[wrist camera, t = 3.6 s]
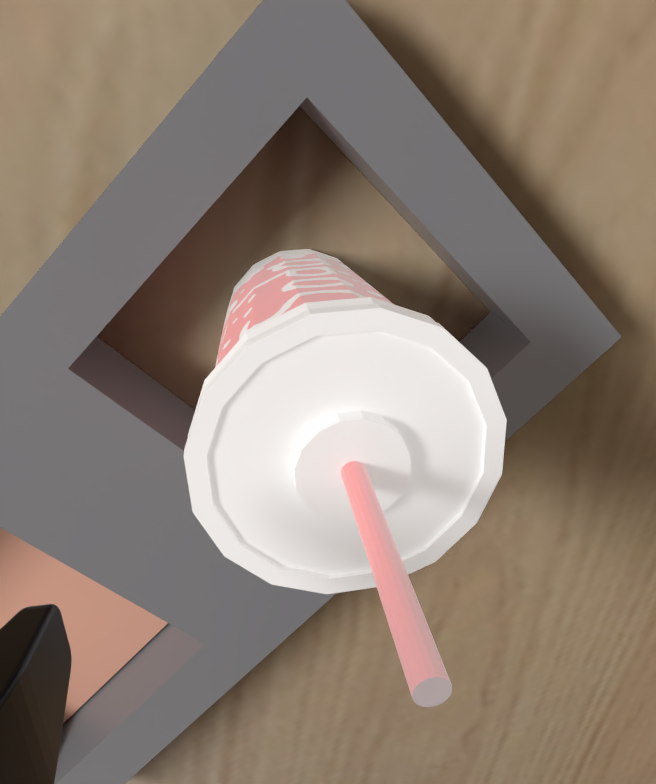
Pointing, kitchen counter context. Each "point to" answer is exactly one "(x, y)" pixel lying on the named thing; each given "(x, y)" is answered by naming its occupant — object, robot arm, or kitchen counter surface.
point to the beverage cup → (343, 443)
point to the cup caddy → (174, 417)
